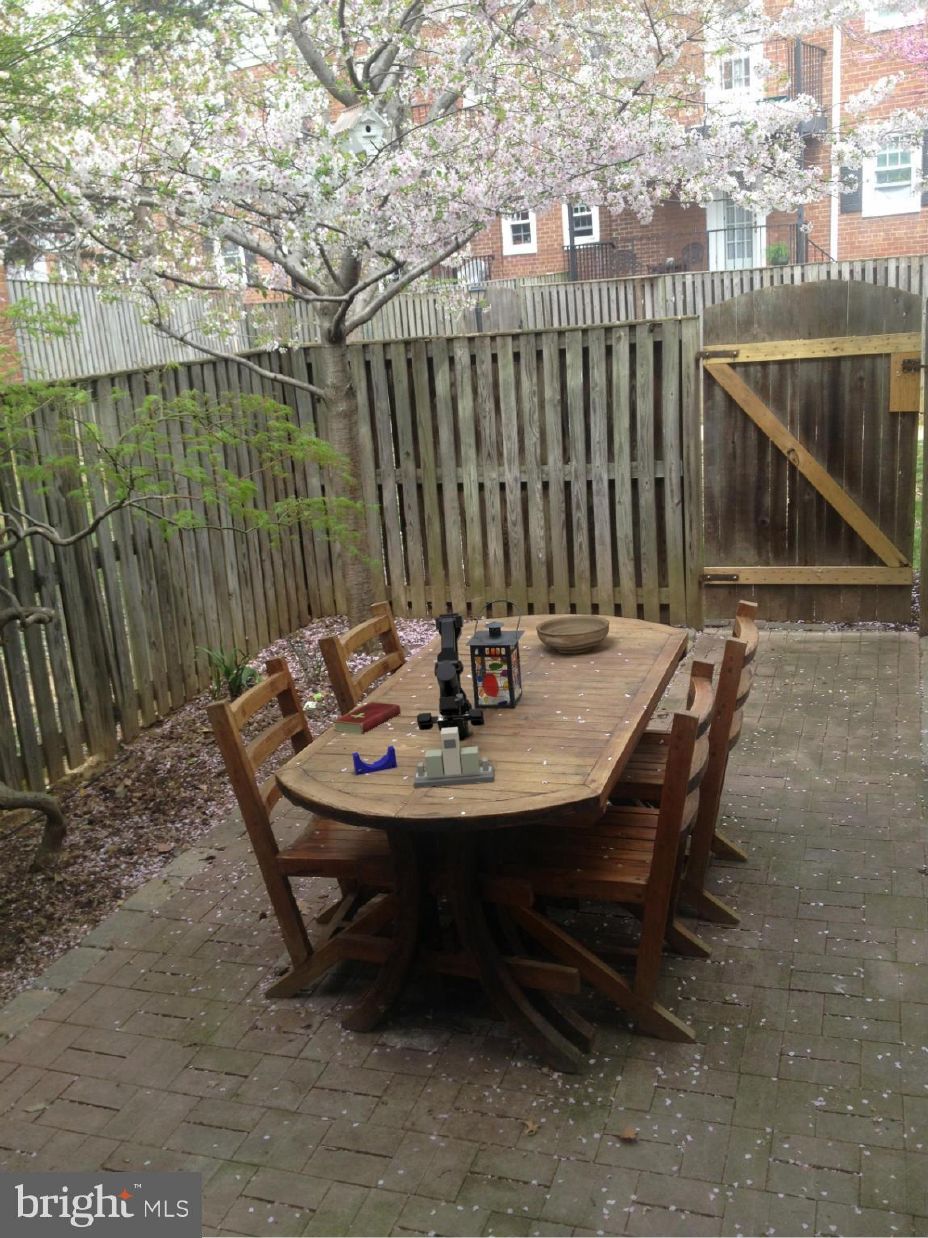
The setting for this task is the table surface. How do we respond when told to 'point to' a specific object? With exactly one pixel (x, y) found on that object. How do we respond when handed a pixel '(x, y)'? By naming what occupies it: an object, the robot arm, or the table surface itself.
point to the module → (451, 751)
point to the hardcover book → (367, 717)
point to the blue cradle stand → (375, 763)
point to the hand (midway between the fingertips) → (451, 746)
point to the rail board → (469, 774)
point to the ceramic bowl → (573, 633)
